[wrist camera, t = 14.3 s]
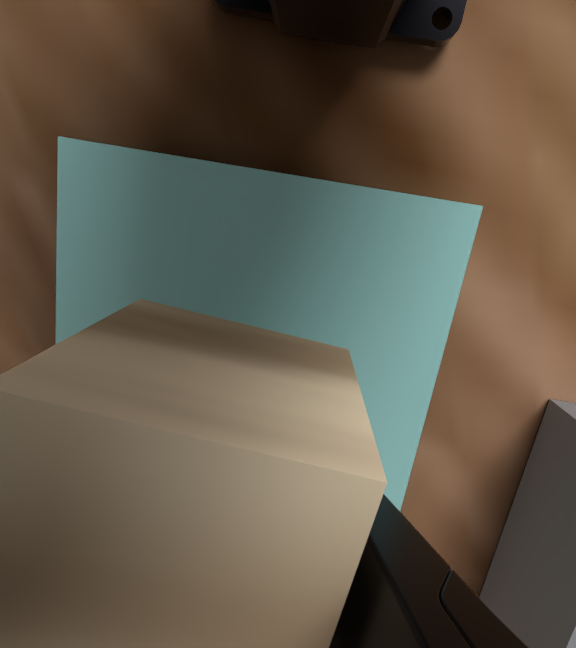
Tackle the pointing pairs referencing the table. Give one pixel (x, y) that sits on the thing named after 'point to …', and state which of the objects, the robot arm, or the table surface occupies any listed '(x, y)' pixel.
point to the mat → (271, 266)
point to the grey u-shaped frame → (540, 541)
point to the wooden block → (182, 486)
